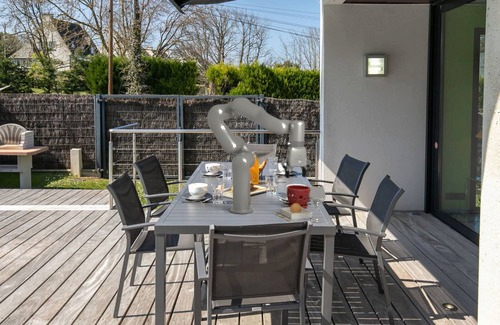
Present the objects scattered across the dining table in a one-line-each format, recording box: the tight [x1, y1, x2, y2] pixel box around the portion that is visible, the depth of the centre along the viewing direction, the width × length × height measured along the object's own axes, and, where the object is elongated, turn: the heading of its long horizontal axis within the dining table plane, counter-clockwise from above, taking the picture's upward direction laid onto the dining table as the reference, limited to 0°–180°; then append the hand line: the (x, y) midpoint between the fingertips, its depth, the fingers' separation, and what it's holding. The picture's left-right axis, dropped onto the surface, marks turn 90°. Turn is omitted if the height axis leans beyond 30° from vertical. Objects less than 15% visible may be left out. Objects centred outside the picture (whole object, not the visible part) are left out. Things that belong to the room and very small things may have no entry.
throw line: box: [273, 212, 294, 223], centre depth 253 cm, size 20×2×1 cm, turn 22°
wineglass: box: [309, 184, 326, 223], centre depth 245 cm, size 8×8×18 cm
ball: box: [290, 203, 302, 213], centre depth 256 cm, size 6×6×6 cm
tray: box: [278, 206, 313, 221], centre depth 257 cm, size 14×12×3 cm
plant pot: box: [286, 184, 311, 209], centre depth 275 cm, size 13×13×12 cm
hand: (295, 177), depth 254 cm, fingers open, 9 cm apart
